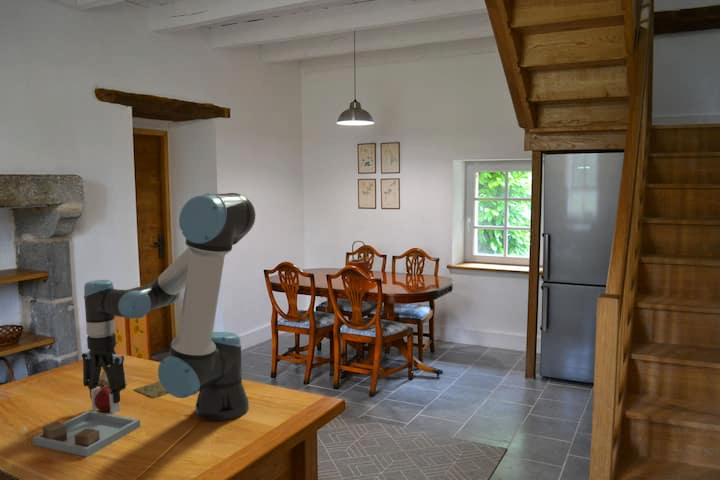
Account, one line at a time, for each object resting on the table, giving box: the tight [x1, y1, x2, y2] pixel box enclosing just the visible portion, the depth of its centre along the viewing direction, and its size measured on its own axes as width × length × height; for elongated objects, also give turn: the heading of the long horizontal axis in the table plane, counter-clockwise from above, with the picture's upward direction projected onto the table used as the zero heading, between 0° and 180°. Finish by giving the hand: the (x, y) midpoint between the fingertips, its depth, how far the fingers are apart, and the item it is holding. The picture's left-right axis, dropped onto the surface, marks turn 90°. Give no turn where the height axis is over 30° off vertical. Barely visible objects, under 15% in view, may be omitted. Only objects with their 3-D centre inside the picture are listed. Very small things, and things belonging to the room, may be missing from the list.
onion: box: [95, 385, 111, 413], centre depth 166 cm, size 6×6×8 cm
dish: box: [32, 409, 141, 458], centre depth 150 cm, size 18×18×2 cm
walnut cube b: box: [42, 421, 67, 442], centre depth 147 cm, size 4×4×4 cm
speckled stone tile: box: [132, 380, 169, 400], centre depth 185 cm, size 12×12×1 cm
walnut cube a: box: [74, 429, 100, 447], centre depth 143 cm, size 4×4×4 cm
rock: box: [98, 370, 128, 387], centre depth 189 cm, size 9×6×10 cm
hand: (105, 411), depth 166 cm, fingers open, 6 cm apart
